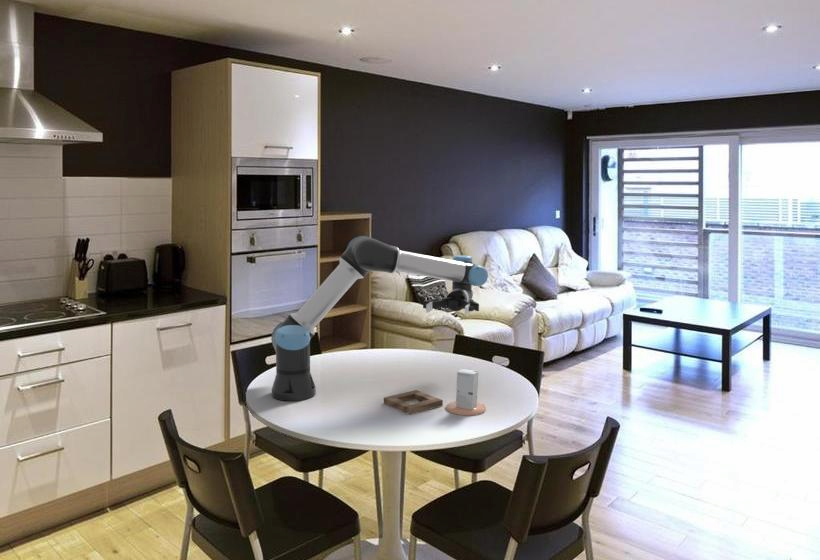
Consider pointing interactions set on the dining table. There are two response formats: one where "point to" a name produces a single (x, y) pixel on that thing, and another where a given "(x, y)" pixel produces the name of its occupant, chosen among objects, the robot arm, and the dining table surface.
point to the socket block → (425, 404)
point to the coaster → (460, 411)
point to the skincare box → (467, 389)
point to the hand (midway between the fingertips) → (446, 309)
